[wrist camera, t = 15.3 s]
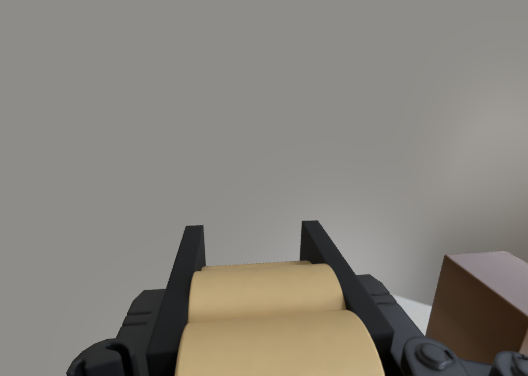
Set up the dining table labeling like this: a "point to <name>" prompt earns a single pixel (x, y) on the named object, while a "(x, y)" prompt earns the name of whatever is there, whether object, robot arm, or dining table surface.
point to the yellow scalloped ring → (273, 324)
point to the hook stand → (481, 305)
